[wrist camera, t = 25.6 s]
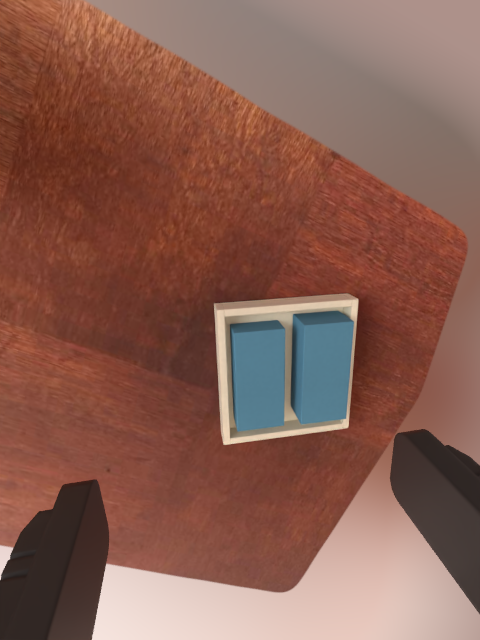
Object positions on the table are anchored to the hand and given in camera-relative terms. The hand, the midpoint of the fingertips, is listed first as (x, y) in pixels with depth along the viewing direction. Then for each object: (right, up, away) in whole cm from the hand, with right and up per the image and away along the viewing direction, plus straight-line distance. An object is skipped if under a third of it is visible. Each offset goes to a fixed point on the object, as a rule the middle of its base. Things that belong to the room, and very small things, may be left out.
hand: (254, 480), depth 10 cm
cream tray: (+5, -1, +34) cm, 34 cm away
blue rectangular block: (+8, -1, +34) cm, 35 cm away
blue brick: (+1, -2, +33) cm, 33 cm away
